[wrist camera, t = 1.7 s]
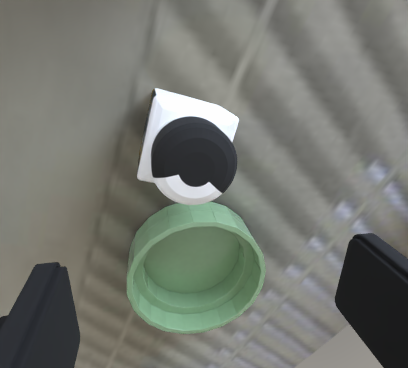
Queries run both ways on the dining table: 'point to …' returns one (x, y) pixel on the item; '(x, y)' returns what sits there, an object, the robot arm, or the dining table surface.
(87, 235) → the dining table surface
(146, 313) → the bowl
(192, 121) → the medicine bottle
